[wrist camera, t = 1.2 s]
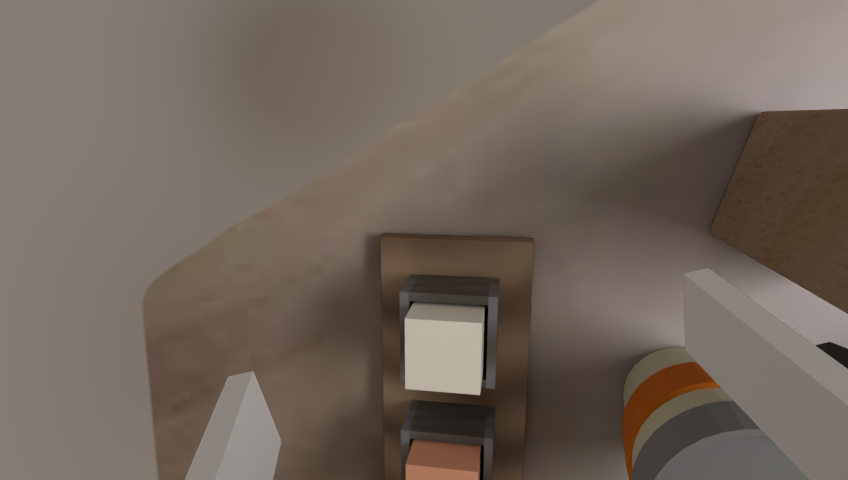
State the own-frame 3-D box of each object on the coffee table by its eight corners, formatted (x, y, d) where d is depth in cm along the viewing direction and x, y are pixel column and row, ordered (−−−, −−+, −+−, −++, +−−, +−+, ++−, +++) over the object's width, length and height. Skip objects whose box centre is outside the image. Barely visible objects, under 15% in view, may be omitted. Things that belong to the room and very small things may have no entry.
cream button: (416, 296, 44) (404, 318, 39) (485, 300, 43) (482, 323, 38) (416, 359, 45) (405, 388, 40) (483, 364, 44) (480, 395, 39)
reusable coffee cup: (646, 302, 45) (709, 388, 31) (786, 367, 44) (917, 487, 30) (576, 419, 48) (603, 546, 34) (705, 481, 48) (788, 639, 33)
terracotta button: (416, 428, 46) (405, 464, 41) (481, 434, 45) (478, 472, 40) (417, 484, 47) (406, 526, 43) (480, 492, 47) (476, 535, 42)
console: (384, 233, 48) (364, 250, 41) (533, 238, 45) (536, 257, 39) (390, 587, 56) (374, 646, 50) (515, 605, 54) (516, 670, 48)
